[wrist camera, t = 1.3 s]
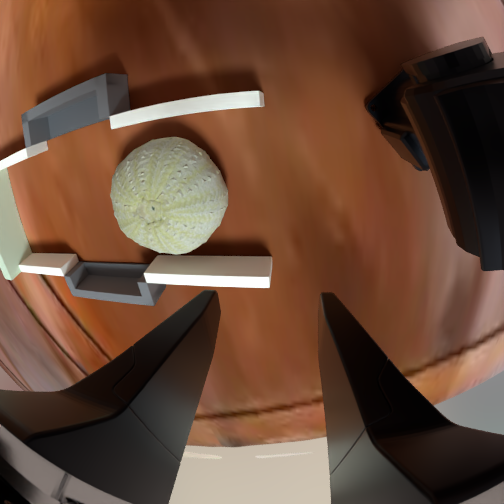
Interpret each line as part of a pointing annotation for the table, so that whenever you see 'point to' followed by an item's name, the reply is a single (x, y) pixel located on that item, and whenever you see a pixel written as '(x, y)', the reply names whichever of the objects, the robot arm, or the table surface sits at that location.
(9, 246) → the end block
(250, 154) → the table surface
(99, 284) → the trap lane
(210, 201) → the sea urchin shell
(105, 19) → the table surface
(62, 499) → the robot arm
